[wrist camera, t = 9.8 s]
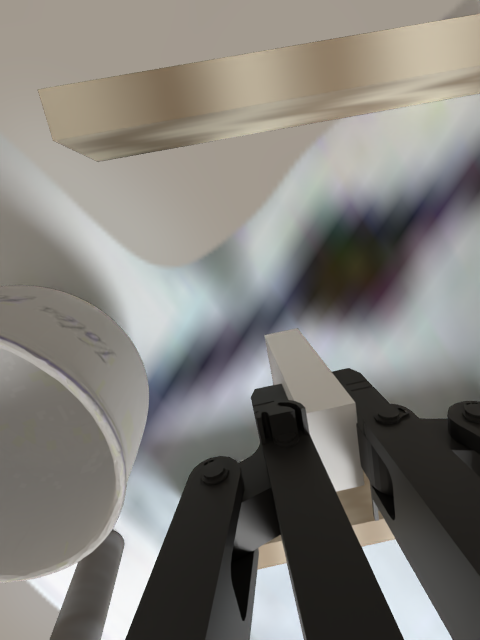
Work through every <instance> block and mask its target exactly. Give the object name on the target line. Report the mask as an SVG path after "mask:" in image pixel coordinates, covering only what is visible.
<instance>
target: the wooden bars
mask: <svg viewBox="0 0 480 640" xmlns="http://www.w3.org/2000/svg"><path fill="white" fill-rule="evenodd" d="M38 93H39V96H40V99H41V102H42V106H43V109H44V112H45V116H46V119H47V122H48V125H49V129H50V132H51V135H52V139H53V141H55V142H57V143H59V144H61V145H63V146H65V147H68V148H70V149H72V150H74V151H76V152H78V153H80V154H82V155H84V156H86V157H89V158H91V159H93V160H95V161H97V162H99V161H105V160H111V159H116V158H122V157H127V156H133V155H139V154H144V153H150V152H155V151H161V150H167V149H172V148H178V147H183V146H189V145H194V144H200V143H206V142H211V141H216V140H222V139H227V138H233V137H239V136H244V135H250V134H256V133H262V132H267V131H273V130H278V129H284V128H289V127H295V126H300V125H306V124H312V123H317V122H323V121H329V120H334V119H340V118H345V117H351V116H356V115H362V114H368V113H373V112H379V111H384V110H390V109H396V108H401V107H407V106H412V105H418V104H423V103H429V102H435V101H440V100H446V99H451V98H457V97H463V96H468V95H474V94H479V93H480V14H475V15H469V16H463V17H457V18H452V19H446V20H440V21H434V22H428V23H423V24H417V25H411V26H406V27H399V28H393V29H387V30H382V31H376V32H370V33H364V34H359V35H353V36H347V37H341V38H335V39H330V40H324V41H317V42H312V43H306V44H300V45H294V46H288V47H282V48H277V49H271V50H265V51H259V52H253V53H247V54H242V55H236V56H230V57H224V58H219V59H212V60H207V61H201V62H196V63H189V64H184V65H178V66H172V67H166V68H160V69H155V70H149V71H142V72H137V73H131V74H125V75H119V76H113V77H108V78H102V79H96V80H90V81H84V82H78V83H73V84H67V85H61V86H55V87H49V88H44V89H38ZM363 476H364V485H363V486H359V487H354V488H350V489H345V490H341V491H336V493H337V495H338V497H339V499H340V501H341V504H342V506H343V508H344V510H345V512H346V515H347V517H348V519H349V521H350V523H351V525H352V528H353V530H354V532H355V534H356V536H357V538H358V541H359V543H360V545H361V547H362V546H366V545H371V544H376V543H380V542H385V541H389V540H394V539H395V537H394V535H393V534H392V532H391V530H390V528H389V527H388V525H387V523H386V521H385V520H384V518H383V516H382V514H381V513H380V511H379V510H378V514H379V520H378V521H375V519H374V515H373V508H372V499H371V489H370V481H369V479H368V477H367V476H366V474H365V472H364V471H363ZM123 549H124V540H123V538H122V536H121V535H120V534H118V533H117V532H115V531H111V532H110V534H109V535H108V536H107V537H106V539H105V540H104V541H103V542H102V543H101V544H100V545H99V546H98V547H97V548H96V549H95V550H94V551H93V552H92V553H90V554H89V555H87V556H86V557H85V558H83V559H82V560H81V561H79V562H78V564H77V567H76V570H75V573H74V575H73V578H72V581H71V583H70V586H69V589H68V591H67V594H66V597H65V600H64V602H63V605H62V608H61V610H60V613H59V616H58V618H57V621H56V624H55V626H54V629H53V632H52V635H51V637H50V640H101V636H102V632H103V628H104V624H105V620H106V617H107V613H108V609H109V605H110V601H111V597H112V593H113V589H114V585H115V581H116V577H117V573H118V569H119V565H120V561H121V557H122V553H123ZM284 563H287V561H286V557H285V552H284V548H283V543H282V539H281V535H279V536H278V537H276V538H274V539H272V540H271V541H269V542H267V543H266V544H264V545H262V546H260V547H259V559H258V568H257V569H262V568H266V567H271V566H275V565H280V564H284Z"/></svg>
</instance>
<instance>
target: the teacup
mask: <svg viewBox="0 0 480 640" xmlns="http://www.w3.org/2000/svg"><path fill="white" fill-rule="evenodd" d="M148 406H149V386H148V380H147V375H146V371H145V368H144V365H143V362H142V360H141V357H140V355H139V353H138V351H137V349H136V348H135V346H134V344H133V342H132V341H131V339H130V338H129V337H128V335H127V334H126V333H125V332H124V331H123V330H122V329H121V327H120V326H119V325H118V324H117V323H116V322H115V321H114V320H113V319H111V318H110V317H109V316H108V315H107V314H105V313H104V312H103V311H101V310H100V309H98V308H97V307H95V306H94V305H92V304H90V303H88V302H87V301H84V300H82V299H80V298H78V297H76V296H73V295H71V294H68V293H65V292H62V291H59V290H55V289H50V288H46V287H39V286H27V285H8V286H0V582H16V581H23V580H30V579H35V578H39V577H42V576H46V575H49V574H52V573H55V572H58V571H60V570H63V569H65V568H67V567H69V566H71V565H73V564H75V563H77V562H79V561H81V560H82V559H83V558H85V557H86V556H87V555H89V554H90V553H92V552H93V551H94V550H95V549H96V548H97V547H98V546H99V545H100V544H101V543H102V542H103V541H104V540H105V539H106V537H107V536H108V535H109V534H110V532H111V531H112V530H113V528H114V526H115V524H116V522H117V520H118V517H119V515H120V512H121V510H122V507H123V504H124V500H125V494H126V487H127V481H128V478H129V475H130V473H131V470H132V467H133V464H134V461H135V458H136V455H137V452H138V449H139V446H140V442H141V439H142V436H143V432H144V428H145V424H146V420H147V414H148Z"/></svg>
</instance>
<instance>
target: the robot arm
mask: <svg viewBox="0 0 480 640" xmlns="http://www.w3.org/2000/svg"><path fill="white" fill-rule="evenodd" d="M264 336H265V341H266V347H267V352H268V357H269V363H270V368H271V374H272V379H273V386H268V387H263V388H259V389H255V390H254V392H253V394H252V396H251V400H252V405H253V410H254V414H255V419H256V424H257V429H258V434H259V438H260V445H259V448H258V449H257V451H256V452H255V453H254V454H253V455H252V456H251V457H249V458H247V459H246V460H244V461H242V462H240V463H237V461H236V460H234V459H232V458H230V457H223V456H219V457H213V458H210V459H207V460H205V461H203V462H201V463H200V464H199V465H198V466H196V467H195V468H194V469H193V471H192V472H191V474H190V476H189V478H188V481H187V483H186V486H185V488H184V491H183V494H182V496H181V499H180V501H179V504H178V506H177V509H176V511H175V514H174V516H173V519H172V522H171V524H170V527H169V529H168V532H167V534H166V537H165V539H164V542H163V545H162V547H161V550H160V552H159V555H158V557H157V560H156V562H155V565H154V568H153V570H152V573H151V575H150V578H149V580H148V583H147V585H146V588H145V590H144V593H143V596H142V598H141V601H140V603H139V606H138V608H137V611H136V613H135V616H134V619H133V621H132V624H131V626H130V629H129V631H128V634H127V636H126V639H125V640H250V631H251V622H252V613H253V604H254V595H255V586H256V577H257V568H258V559H259V547H260V546H262V545H264V544H266V543H267V542H269V541H271V540H272V539H274V538H276V537H278V536H279V535H281V539H282V543H283V548H284V552H285V557H286V561H287V566H288V570H289V575H290V579H291V583H292V588H293V592H294V597H295V601H296V606H297V610H298V615H299V619H300V624H301V628H302V633H303V637H304V640H404V639H403V636H402V634H401V632H400V630H399V628H398V625H397V623H396V621H395V619H394V617H393V615H392V612H391V610H390V608H389V606H388V604H387V602H386V599H385V597H384V595H383V593H382V591H381V588H380V586H379V584H378V582H377V580H376V578H375V575H374V573H373V571H372V569H371V567H370V565H369V562H368V560H367V558H366V556H365V554H364V552H363V549H362V547H361V545H360V543H359V541H358V538H357V536H356V534H355V532H354V530H353V528H352V525H351V523H350V521H349V519H348V517H347V515H346V512H345V510H344V508H343V506H342V504H341V501H340V499H339V497H338V495H337V493H336V491H341V490H345V489H350V488H354V487H359V486H363V485H364V476H363V471H364V472H365V474H366V476H367V477H368V479H369V481H370V489H371V499H372V508H373V515H374V519H375V521H378V520H379V514H378V510H379V511H380V513H381V514H382V516H383V518H384V520H385V521H386V523H387V525H388V527H389V528H390V530H391V532H392V534H393V535H394V537H395V539H396V541H397V542H398V544H399V546H400V548H401V549H402V551H403V553H404V555H405V556H406V558H407V560H408V562H409V563H410V565H411V567H412V569H413V571H414V572H415V574H416V576H417V578H418V579H419V581H420V583H421V585H422V586H423V588H424V590H425V592H426V593H427V595H428V597H429V599H430V600H431V602H432V604H433V606H434V607H435V609H436V611H437V613H438V614H439V616H440V618H441V620H442V621H443V623H444V625H445V627H446V628H447V630H448V632H449V634H450V635H451V637H452V639H453V640H480V402H477V401H464V402H460V403H456V404H454V405H452V406H451V407H449V410H448V419H419V418H418V417H417V416H416V415H415V414H414V413H413V412H412V411H410V410H409V409H407V408H406V407H403V406H400V405H396V404H389V403H388V402H387V401H386V400H385V398H384V397H383V396H382V395H381V394H380V393H379V392H378V391H377V390H376V389H375V388H374V387H372V385H371V384H370V383H369V382H368V381H367V380H366V379H365V378H364V377H363V375H362V374H361V373H359V372H357V371H354V370H352V369H350V368H347V369H342V370H338V371H333V372H331V371H330V369H329V368H328V367H327V366H326V364H325V363H324V362H323V360H322V359H321V358H320V357H319V355H318V354H317V353H316V351H315V350H314V349H313V348H312V346H311V345H310V344H309V342H308V341H307V340H306V339H305V337H304V336H303V335H302V333H301V332H300V331H299V330H298V328H296V329H292V330H287V331H282V332H277V333H273V334H268V335H264Z"/></svg>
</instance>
